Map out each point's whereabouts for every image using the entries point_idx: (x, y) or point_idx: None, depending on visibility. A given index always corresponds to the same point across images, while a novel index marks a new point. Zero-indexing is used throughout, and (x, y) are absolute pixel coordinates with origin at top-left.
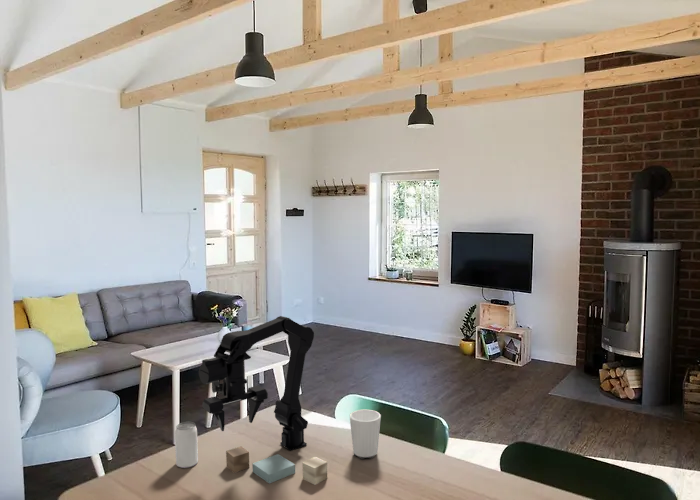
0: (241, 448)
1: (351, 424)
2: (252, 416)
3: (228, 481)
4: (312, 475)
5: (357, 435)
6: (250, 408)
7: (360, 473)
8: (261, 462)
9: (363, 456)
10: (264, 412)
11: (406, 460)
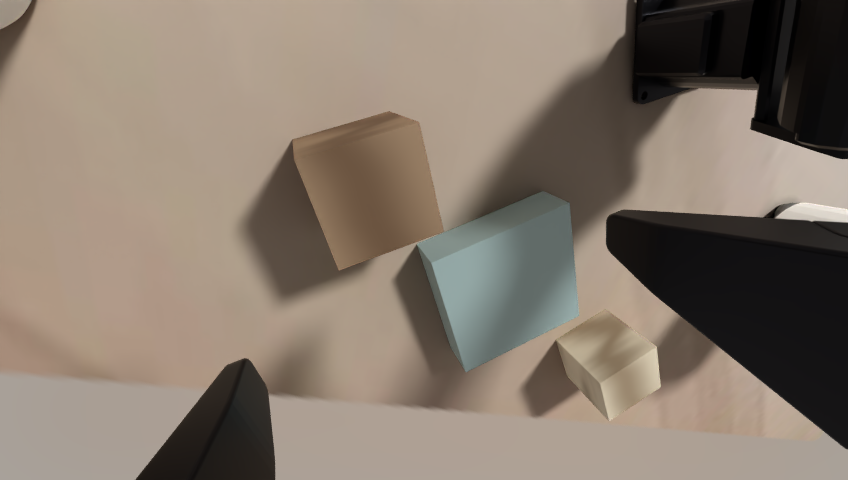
0: (412, 162)
1: None
2: (690, 321)
3: (290, 300)
4: (585, 390)
5: None
6: (834, 319)
7: (687, 339)
8: (473, 266)
9: None
10: None
11: None
